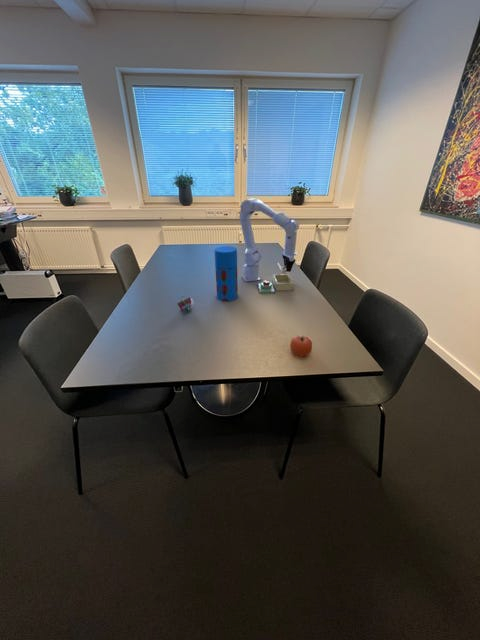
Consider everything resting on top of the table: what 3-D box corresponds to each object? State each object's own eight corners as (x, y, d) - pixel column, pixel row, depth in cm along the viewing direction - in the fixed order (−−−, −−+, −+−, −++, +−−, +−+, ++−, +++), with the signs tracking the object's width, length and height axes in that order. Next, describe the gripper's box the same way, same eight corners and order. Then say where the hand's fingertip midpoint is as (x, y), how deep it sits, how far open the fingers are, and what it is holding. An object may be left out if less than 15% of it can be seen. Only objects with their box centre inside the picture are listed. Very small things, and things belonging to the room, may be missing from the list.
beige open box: (276, 290, 141) (276, 283, 139) (272, 281, 153) (273, 274, 150) (293, 290, 142) (293, 283, 140) (288, 280, 153) (288, 274, 151)
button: (263, 285, 141) (263, 282, 140) (263, 283, 143) (263, 280, 142) (269, 285, 141) (269, 282, 140) (268, 283, 143) (268, 280, 142)
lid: (281, 271, 136) (287, 266, 134) (277, 263, 147) (282, 258, 146) (293, 283, 139) (298, 278, 138) (288, 274, 151) (293, 269, 149)
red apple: (313, 359, 92) (316, 342, 88) (291, 359, 92) (293, 343, 88) (308, 346, 98) (310, 330, 95) (287, 346, 98) (289, 330, 94)
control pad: (260, 293, 138) (260, 288, 137) (257, 285, 148) (258, 280, 146) (274, 292, 139) (275, 287, 137) (271, 284, 148) (272, 279, 147)
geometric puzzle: (175, 310, 118) (184, 297, 115) (174, 304, 123) (182, 290, 121) (188, 317, 121) (197, 303, 119) (187, 310, 127) (195, 297, 125)
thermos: (235, 302, 130) (234, 253, 117) (214, 300, 132) (211, 251, 119) (239, 292, 139) (239, 246, 126) (220, 291, 141) (217, 245, 128)
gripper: (301, 248, 129) (297, 274, 136) (294, 241, 141) (291, 265, 149) (287, 249, 129) (284, 274, 136) (281, 241, 141) (279, 265, 148)
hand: (287, 269), depth 142 cm, fingers closed on lid, 5 cm apart
